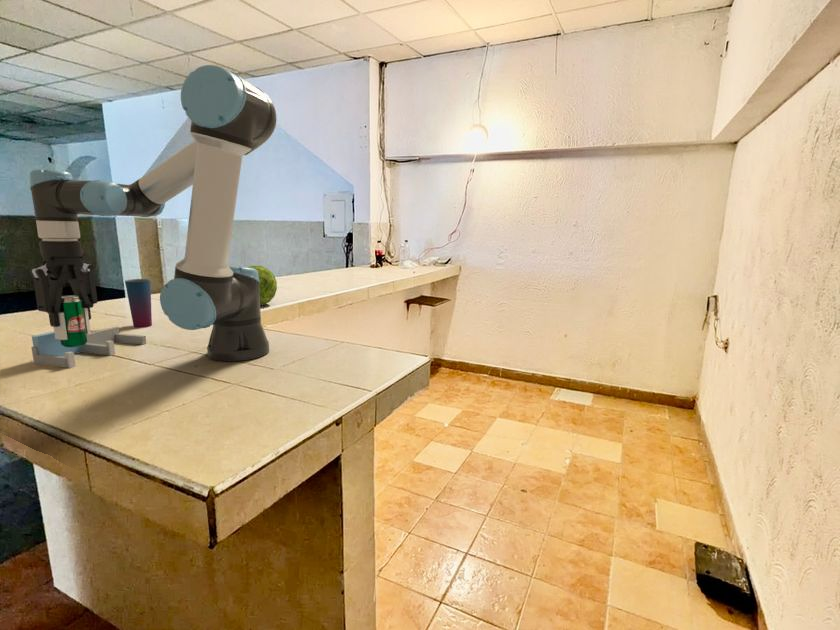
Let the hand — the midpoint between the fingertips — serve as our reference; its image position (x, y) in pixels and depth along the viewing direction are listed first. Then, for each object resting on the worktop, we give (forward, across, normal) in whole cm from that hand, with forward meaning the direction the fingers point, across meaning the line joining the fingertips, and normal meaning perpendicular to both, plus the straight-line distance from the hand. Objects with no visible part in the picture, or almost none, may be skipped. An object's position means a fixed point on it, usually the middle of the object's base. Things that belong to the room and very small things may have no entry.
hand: (73, 336), depth 104 cm
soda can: (+2, 0, 0) cm, 2 cm away
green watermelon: (+6, -79, -4) cm, 79 cm away
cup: (+6, -32, -13) cm, 35 cm away
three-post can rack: (+6, -5, 0) cm, 8 cm away
